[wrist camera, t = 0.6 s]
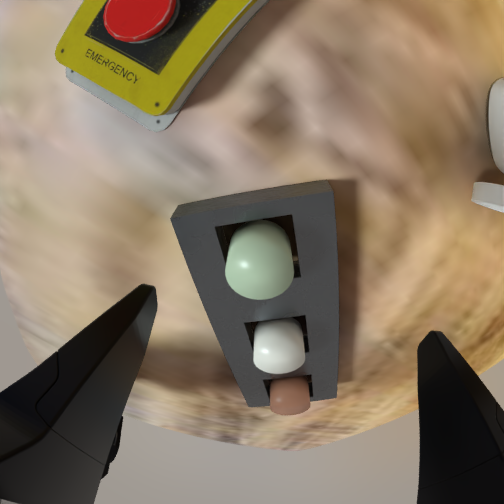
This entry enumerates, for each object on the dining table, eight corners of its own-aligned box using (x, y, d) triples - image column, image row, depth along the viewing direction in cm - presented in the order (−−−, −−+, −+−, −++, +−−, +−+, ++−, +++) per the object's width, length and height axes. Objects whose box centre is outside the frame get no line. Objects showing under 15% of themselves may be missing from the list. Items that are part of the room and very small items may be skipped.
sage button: (237, 274, 21) (234, 303, 19) (223, 225, 19) (217, 250, 16) (293, 266, 21) (297, 294, 18) (285, 215, 18) (289, 239, 16)
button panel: (249, 392, 32) (248, 407, 31) (178, 205, 20) (170, 218, 18) (334, 383, 31) (336, 397, 29) (326, 179, 18) (333, 191, 17)
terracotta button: (272, 393, 30) (273, 416, 28) (267, 375, 28) (267, 400, 25) (309, 389, 30) (311, 412, 27) (307, 370, 27) (309, 395, 25)
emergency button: (26, 81, 11) (176, -118, 4) (66, 75, 15) (192, -89, 8) (138, 153, 14) (322, -63, 7) (164, 136, 18) (309, -35, 11)
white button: (259, 348, 26) (258, 375, 23) (250, 318, 24) (248, 347, 21) (303, 343, 25) (306, 370, 23) (299, 312, 23) (303, 340, 20)
